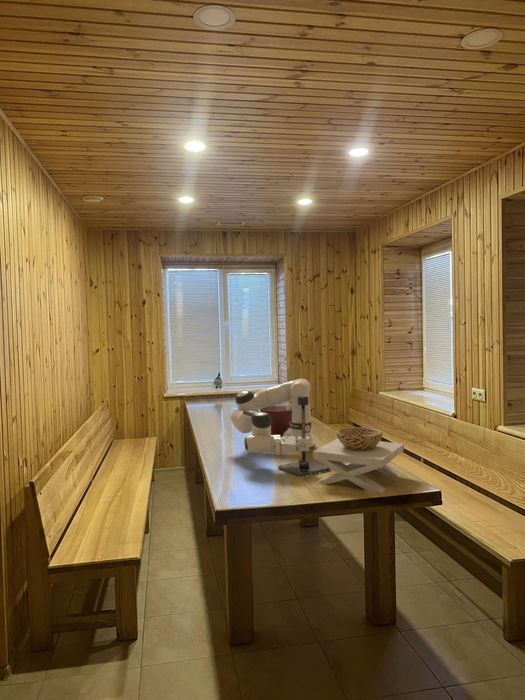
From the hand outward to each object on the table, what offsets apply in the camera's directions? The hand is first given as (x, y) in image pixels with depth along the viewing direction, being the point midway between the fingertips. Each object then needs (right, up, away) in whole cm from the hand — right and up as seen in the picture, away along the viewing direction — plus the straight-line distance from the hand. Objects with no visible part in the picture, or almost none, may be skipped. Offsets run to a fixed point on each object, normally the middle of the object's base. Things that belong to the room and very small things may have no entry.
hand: (305, 443), depth 250 cm
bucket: (-11, -10, +73) cm, 75 cm away
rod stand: (-1, -13, +1) cm, 13 cm away
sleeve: (-1, -3, 0) cm, 3 cm away
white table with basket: (+24, -14, -14) cm, 31 cm away
